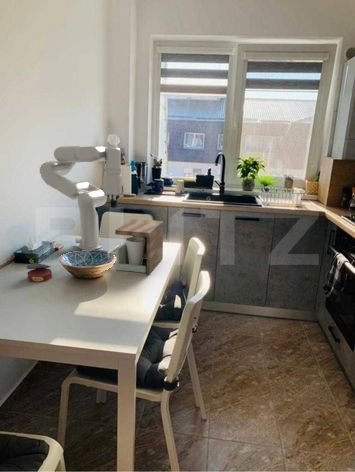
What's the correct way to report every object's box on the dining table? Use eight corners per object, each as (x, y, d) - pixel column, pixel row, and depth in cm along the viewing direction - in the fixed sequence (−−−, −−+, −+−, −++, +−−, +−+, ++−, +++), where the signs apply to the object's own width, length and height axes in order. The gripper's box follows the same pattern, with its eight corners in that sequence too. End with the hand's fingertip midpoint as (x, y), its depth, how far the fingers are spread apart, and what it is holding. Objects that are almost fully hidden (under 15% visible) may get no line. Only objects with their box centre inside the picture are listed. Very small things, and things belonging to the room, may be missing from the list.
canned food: (28, 290, 155) (17, 269, 154) (46, 280, 164) (35, 261, 163) (43, 284, 149) (31, 263, 148) (60, 274, 157) (50, 254, 156)
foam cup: (135, 269, 170) (135, 243, 167) (122, 264, 175) (121, 239, 172) (149, 264, 177) (149, 239, 174) (135, 260, 183) (135, 235, 179)
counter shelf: (116, 271, 166) (115, 230, 161) (133, 256, 189) (132, 219, 184) (149, 275, 163) (149, 232, 158) (162, 258, 186) (163, 221, 180)
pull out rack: (104, 268, 169) (104, 248, 167) (120, 255, 188) (119, 237, 185) (145, 272, 165) (145, 252, 163) (156, 259, 184) (157, 240, 182)
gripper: (96, 171, 182) (97, 207, 187) (123, 173, 178) (123, 209, 183) (104, 170, 189) (104, 204, 194) (129, 172, 185) (129, 207, 190)
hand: (113, 207), depth 189 cm, fingers closed
